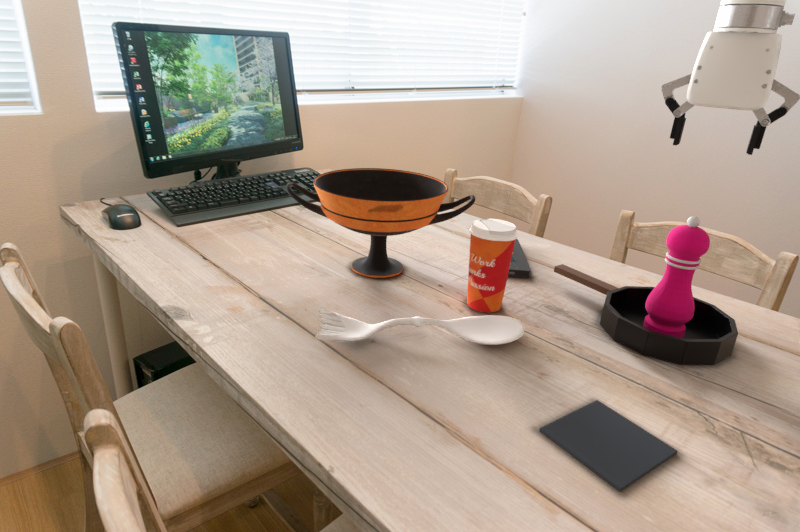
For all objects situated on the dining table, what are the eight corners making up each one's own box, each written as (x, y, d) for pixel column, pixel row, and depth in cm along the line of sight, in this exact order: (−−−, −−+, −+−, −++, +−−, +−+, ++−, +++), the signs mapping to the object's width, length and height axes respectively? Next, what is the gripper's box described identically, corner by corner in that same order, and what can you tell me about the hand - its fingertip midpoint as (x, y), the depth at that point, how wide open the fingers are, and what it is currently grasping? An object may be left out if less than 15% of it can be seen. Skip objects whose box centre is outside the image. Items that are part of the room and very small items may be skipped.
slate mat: (677, 453, 61) (678, 450, 61) (619, 491, 55) (620, 488, 55) (596, 402, 69) (597, 399, 69) (539, 430, 63) (539, 428, 63)
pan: (751, 344, 86) (759, 322, 85) (688, 378, 76) (696, 354, 74) (586, 273, 111) (590, 256, 109) (520, 292, 100) (524, 272, 99)
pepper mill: (643, 338, 86) (675, 220, 78) (636, 318, 92) (664, 207, 85) (691, 345, 84) (728, 226, 77) (680, 325, 91) (713, 213, 83)
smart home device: (490, 267, 106) (483, 235, 125) (489, 275, 107) (482, 242, 126) (532, 270, 106) (518, 238, 125) (531, 278, 107) (517, 244, 125)
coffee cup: (452, 298, 96) (460, 219, 90) (489, 292, 99) (499, 215, 94) (478, 319, 89) (489, 235, 83) (517, 311, 92) (530, 230, 87)
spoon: (317, 324, 84) (317, 304, 83) (512, 324, 88) (514, 305, 87) (315, 354, 76) (314, 333, 74) (530, 353, 80) (533, 332, 78)
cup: (271, 287, 96) (268, 192, 89) (303, 240, 119) (302, 162, 113) (470, 302, 95) (482, 207, 88) (462, 252, 118) (471, 174, 112)
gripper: (821, 26, 71) (779, 154, 78) (679, 22, 79) (652, 138, 86) (828, 22, 65) (782, 161, 71) (674, 18, 73) (645, 143, 80)
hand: (711, 148), depth 79 cm, fingers open, 9 cm apart
